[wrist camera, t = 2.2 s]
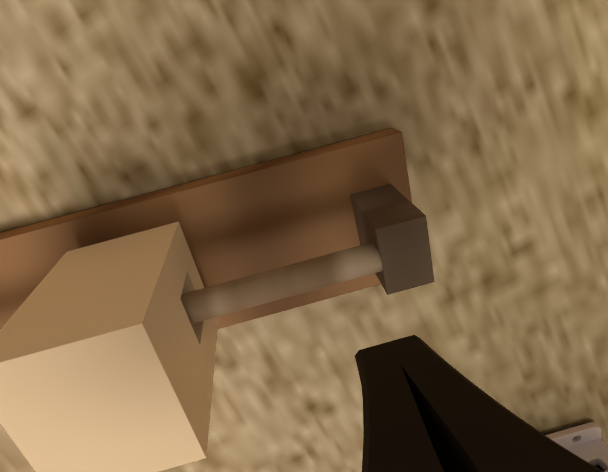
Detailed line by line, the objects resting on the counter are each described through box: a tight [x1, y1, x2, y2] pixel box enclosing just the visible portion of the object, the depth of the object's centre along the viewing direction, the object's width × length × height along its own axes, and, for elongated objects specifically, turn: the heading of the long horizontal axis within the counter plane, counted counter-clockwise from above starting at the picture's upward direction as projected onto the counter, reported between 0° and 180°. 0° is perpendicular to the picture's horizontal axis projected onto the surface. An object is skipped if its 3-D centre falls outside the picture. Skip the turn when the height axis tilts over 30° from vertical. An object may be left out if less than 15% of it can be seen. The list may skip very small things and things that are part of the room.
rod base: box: [0, 128, 434, 329], centre depth 15 cm, size 24×6×6 cm, turn 103°
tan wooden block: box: [0, 222, 218, 472], centre depth 13 cm, size 4×4×6 cm
